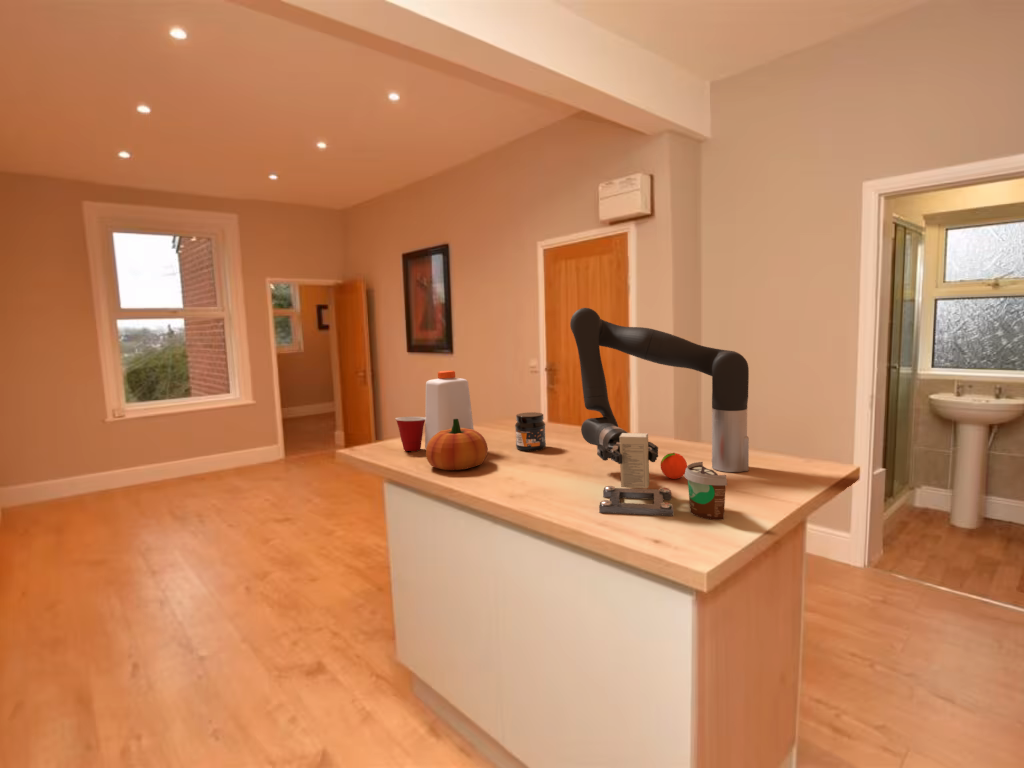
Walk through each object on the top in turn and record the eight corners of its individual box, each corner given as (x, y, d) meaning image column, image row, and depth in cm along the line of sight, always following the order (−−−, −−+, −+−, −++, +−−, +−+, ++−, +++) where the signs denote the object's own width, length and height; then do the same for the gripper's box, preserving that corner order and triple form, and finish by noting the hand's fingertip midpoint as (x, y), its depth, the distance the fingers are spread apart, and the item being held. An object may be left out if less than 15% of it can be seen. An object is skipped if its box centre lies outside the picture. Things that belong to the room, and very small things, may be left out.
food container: (675, 504, 124) (675, 462, 123) (701, 503, 124) (701, 461, 123) (698, 524, 112) (698, 477, 111) (727, 522, 112) (727, 475, 111)
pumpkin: (462, 455, 181) (460, 411, 179) (501, 464, 167) (499, 417, 165) (414, 467, 167) (411, 420, 166) (452, 478, 154) (449, 426, 152)
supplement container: (513, 451, 182) (512, 417, 181) (518, 445, 193) (517, 412, 191) (544, 451, 181) (543, 416, 179) (547, 444, 191) (546, 411, 190)
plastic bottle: (456, 443, 199) (452, 368, 196) (480, 449, 188) (476, 370, 185) (420, 450, 190) (416, 372, 187) (444, 457, 178) (439, 374, 175)
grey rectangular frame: (670, 496, 130) (670, 487, 130) (673, 516, 117) (673, 506, 116) (604, 493, 134) (604, 485, 134) (599, 512, 121) (599, 503, 120)
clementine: (670, 484, 140) (670, 457, 139) (652, 478, 146) (651, 452, 145) (692, 479, 143) (692, 453, 142) (674, 473, 149) (673, 448, 148)
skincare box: (649, 483, 126) (649, 433, 125) (647, 489, 122) (648, 437, 121) (622, 481, 128) (621, 431, 127) (619, 487, 124) (619, 435, 123)
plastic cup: (434, 448, 193) (432, 415, 192) (413, 454, 184) (411, 420, 183) (412, 445, 199) (410, 413, 197) (390, 452, 190) (388, 418, 188)
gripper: (589, 429, 137) (606, 444, 121) (643, 426, 139) (668, 441, 122) (589, 458, 138) (607, 476, 122) (643, 455, 140) (667, 472, 123)
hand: (637, 458), depth 122 cm, fingers closed on skincare box, 7 cm apart
